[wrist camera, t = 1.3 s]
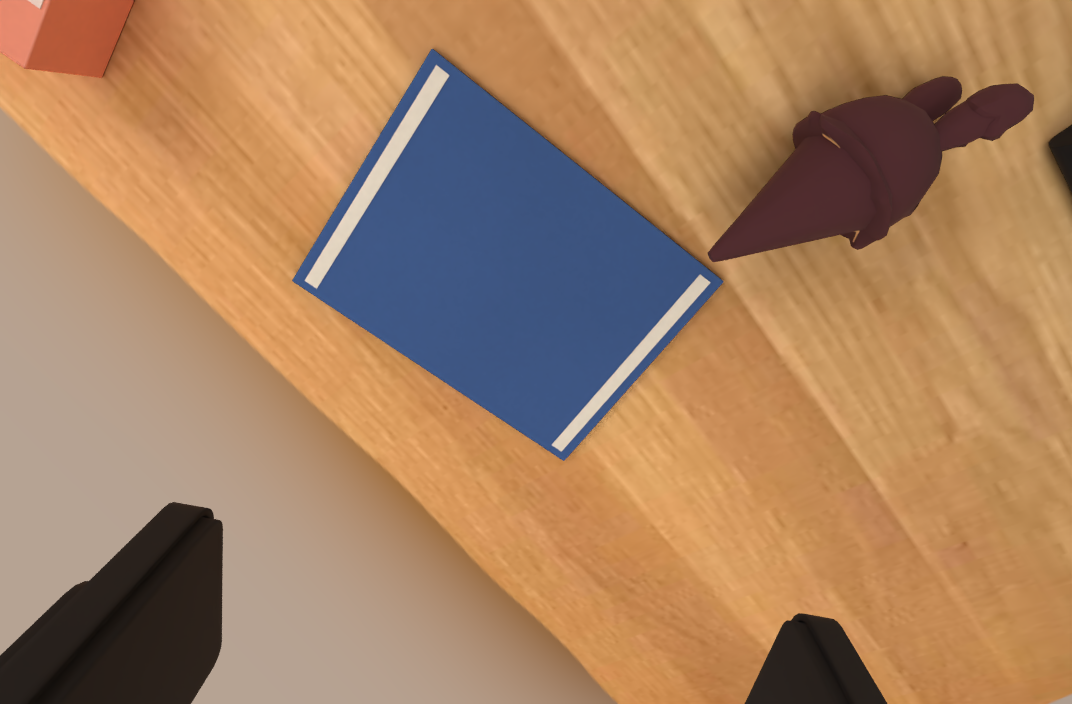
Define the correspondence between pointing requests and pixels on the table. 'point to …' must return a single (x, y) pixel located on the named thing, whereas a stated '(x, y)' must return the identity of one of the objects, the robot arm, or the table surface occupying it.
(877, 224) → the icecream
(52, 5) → the red rectangular block
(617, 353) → the cloth
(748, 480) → the table surface
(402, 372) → the table surface
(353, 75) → the table surface
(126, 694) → the robot arm
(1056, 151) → the device stand
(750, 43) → the table surface
